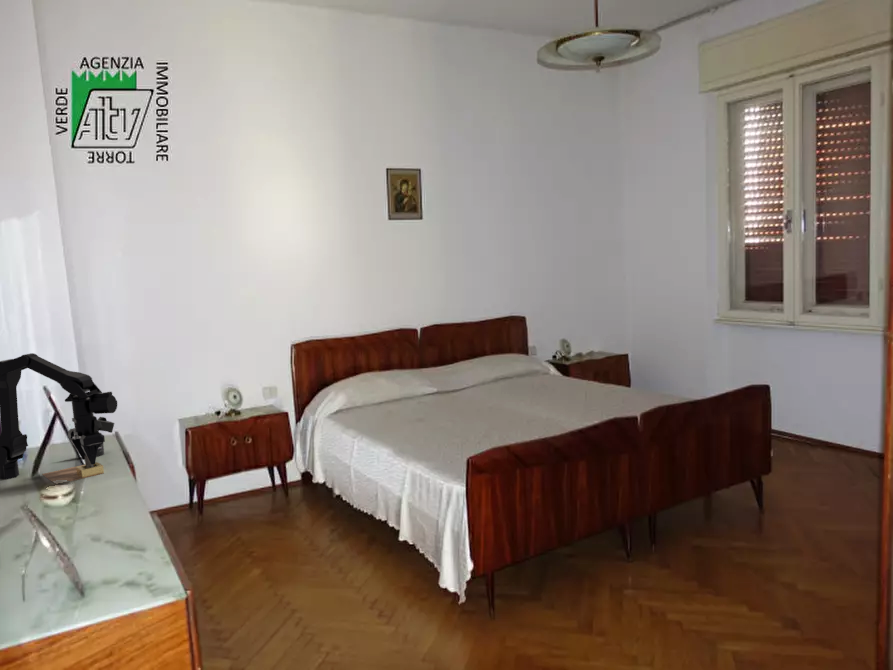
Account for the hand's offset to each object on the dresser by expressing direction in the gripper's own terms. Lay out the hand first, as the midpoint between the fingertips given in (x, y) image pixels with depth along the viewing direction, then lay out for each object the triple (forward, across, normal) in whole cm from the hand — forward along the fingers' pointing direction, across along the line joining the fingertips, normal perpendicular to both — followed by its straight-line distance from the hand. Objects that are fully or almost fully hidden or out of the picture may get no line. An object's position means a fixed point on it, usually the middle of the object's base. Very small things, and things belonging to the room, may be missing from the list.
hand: (88, 461), depth 225 cm
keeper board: (+5, +5, +4) cm, 8 cm away
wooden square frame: (+4, 0, 0) cm, 4 cm away
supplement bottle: (+6, +25, -8) cm, 27 cm away
